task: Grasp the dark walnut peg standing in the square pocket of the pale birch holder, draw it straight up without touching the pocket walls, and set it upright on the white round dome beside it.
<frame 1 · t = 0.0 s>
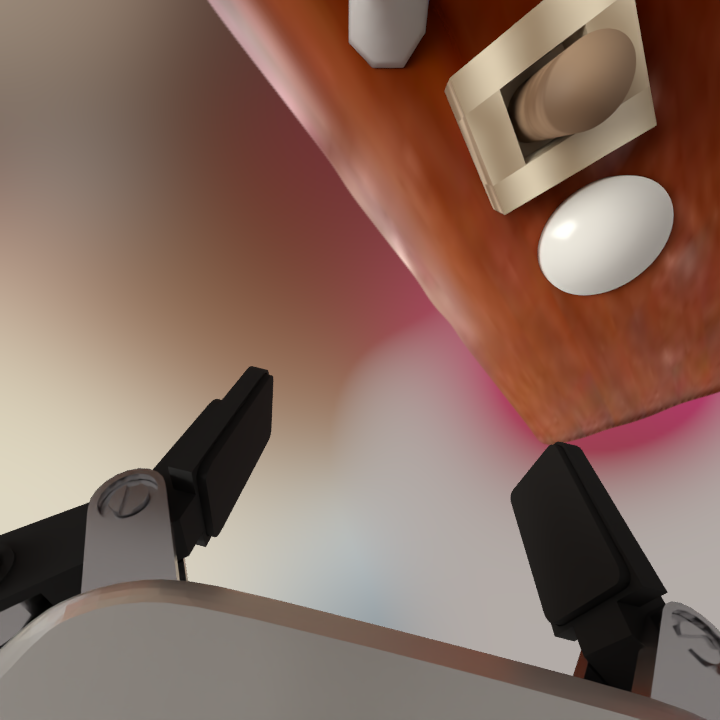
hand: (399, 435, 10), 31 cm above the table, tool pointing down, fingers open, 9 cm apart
flask: (387, 16, 27), on the table
white round dome: (597, 239, 33), on the table
birch holder: (532, 111, 29), on the table
walnut peg: (535, 109, 28), point 1 cm above the table, touching birch holder
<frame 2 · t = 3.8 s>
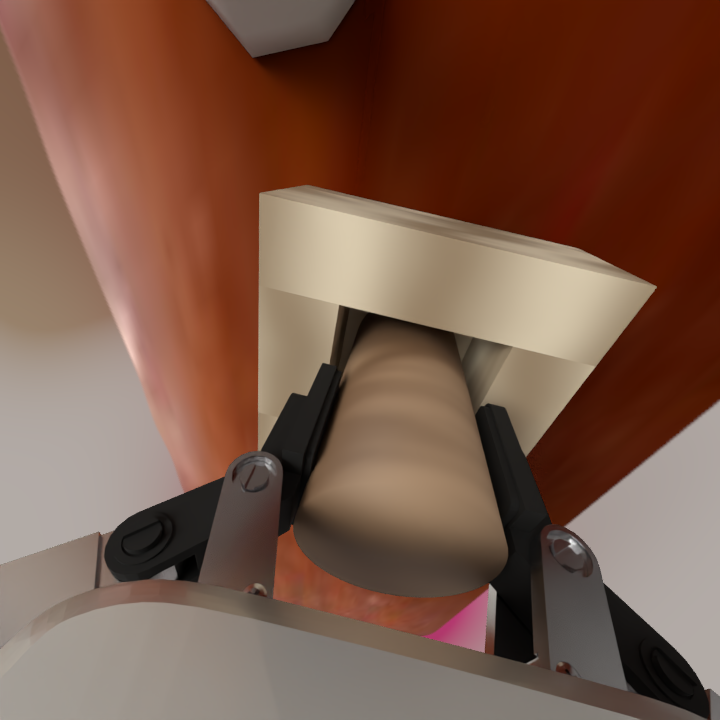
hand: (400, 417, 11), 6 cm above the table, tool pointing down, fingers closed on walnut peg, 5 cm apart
birch holder: (404, 335, 16), on the table
walnut peg: (404, 344, 16), point 1 cm above the table, touching birch holder, gripper
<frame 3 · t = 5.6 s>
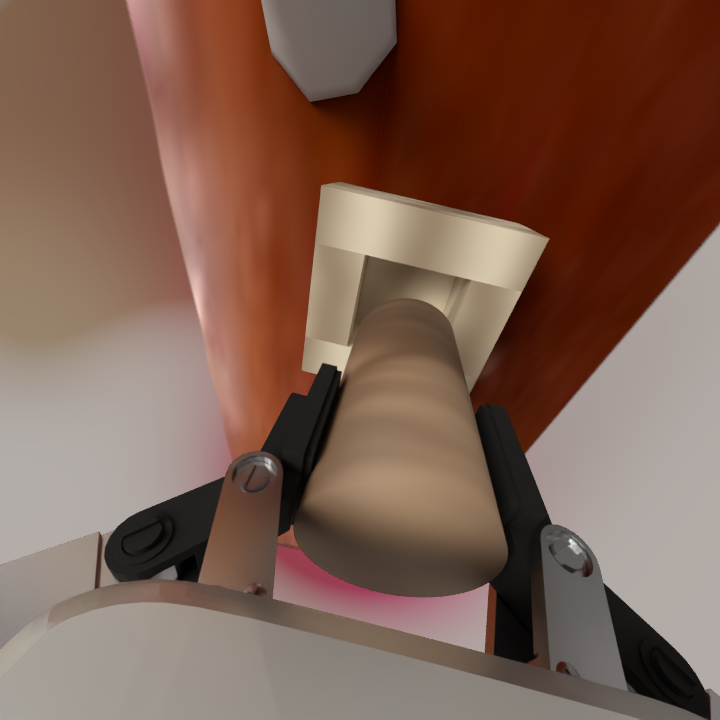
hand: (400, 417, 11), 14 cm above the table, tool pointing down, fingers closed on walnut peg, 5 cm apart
flask: (330, 14, 16), on the table
birch holder: (404, 289, 23), on the table
walnut peg: (404, 344, 16), point 9 cm above the table, touching gripper
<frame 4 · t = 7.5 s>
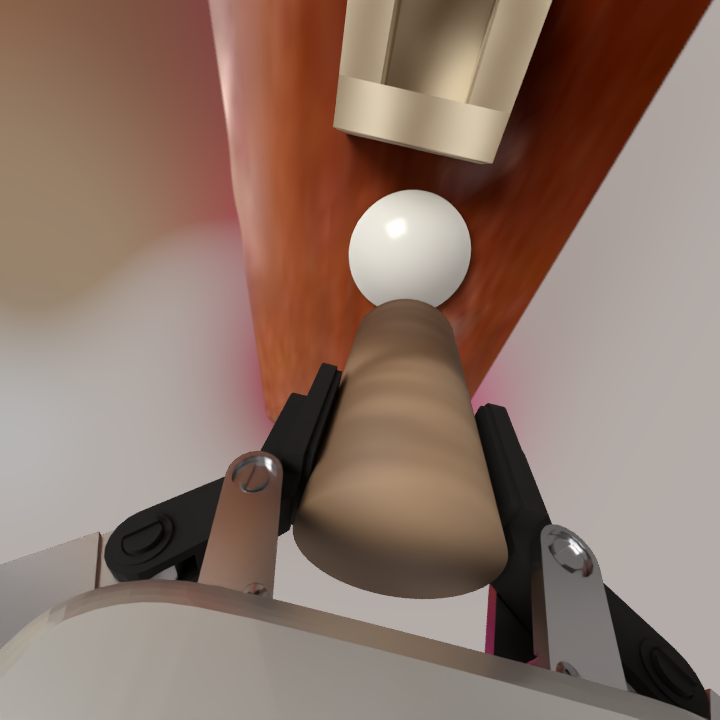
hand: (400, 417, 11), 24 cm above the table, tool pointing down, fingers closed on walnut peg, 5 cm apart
white round dome: (408, 255, 31), on the table
birch holder: (434, 54, 23), on the table
walnut peg: (404, 345, 16), point 19 cm above the table, touching gripper
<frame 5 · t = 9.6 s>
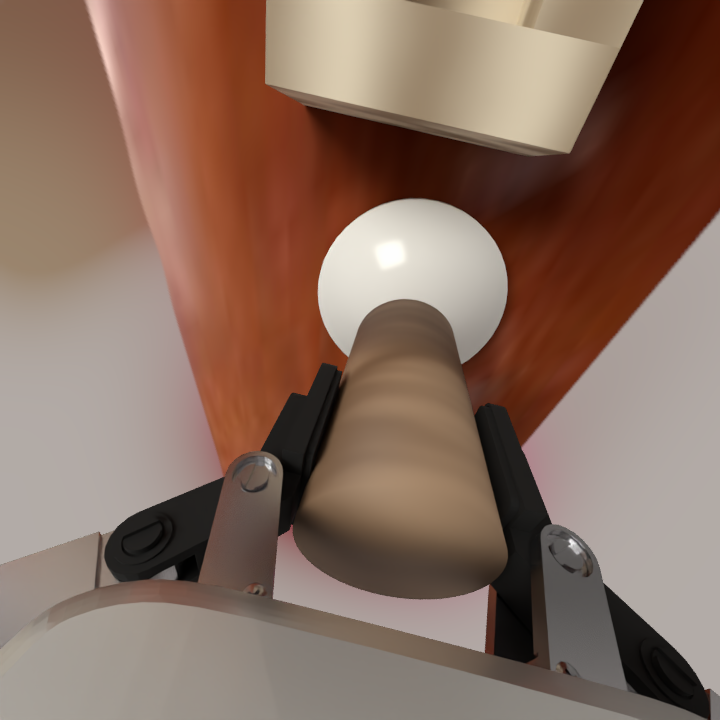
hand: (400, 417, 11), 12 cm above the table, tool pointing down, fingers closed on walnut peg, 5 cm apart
white round dome: (408, 297, 21), on the table
walnut peg: (403, 345, 16), point 6 cm above the table, touching gripper
when the fingers open (8 cm above the table, at t = 11.2 s): walnut peg drops 2 cm, resting on white round dome.
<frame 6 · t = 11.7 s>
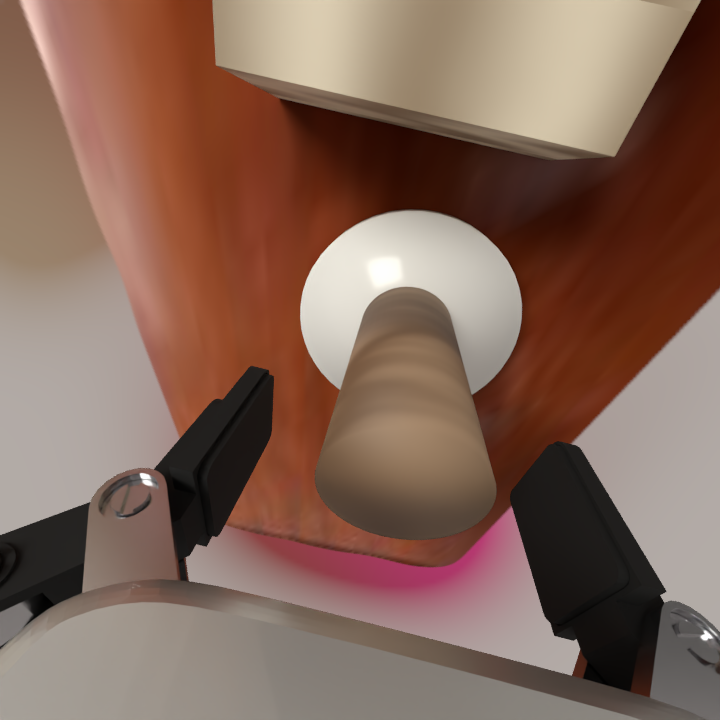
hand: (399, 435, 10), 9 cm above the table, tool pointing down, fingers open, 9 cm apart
white round dome: (405, 321, 18), on the table
walnut peg: (405, 330, 17), point 1 cm above the table, touching white round dome
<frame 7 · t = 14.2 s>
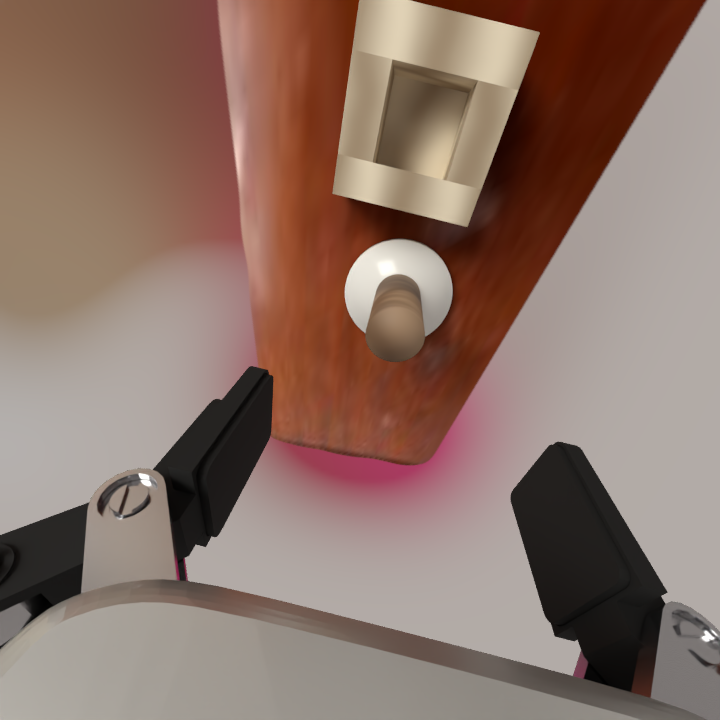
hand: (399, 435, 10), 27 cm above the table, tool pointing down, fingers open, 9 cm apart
white round dome: (397, 293, 35), on the table
birch holder: (419, 132, 27), on the table
walnut peg: (397, 296, 34), point 1 cm above the table, touching white round dome
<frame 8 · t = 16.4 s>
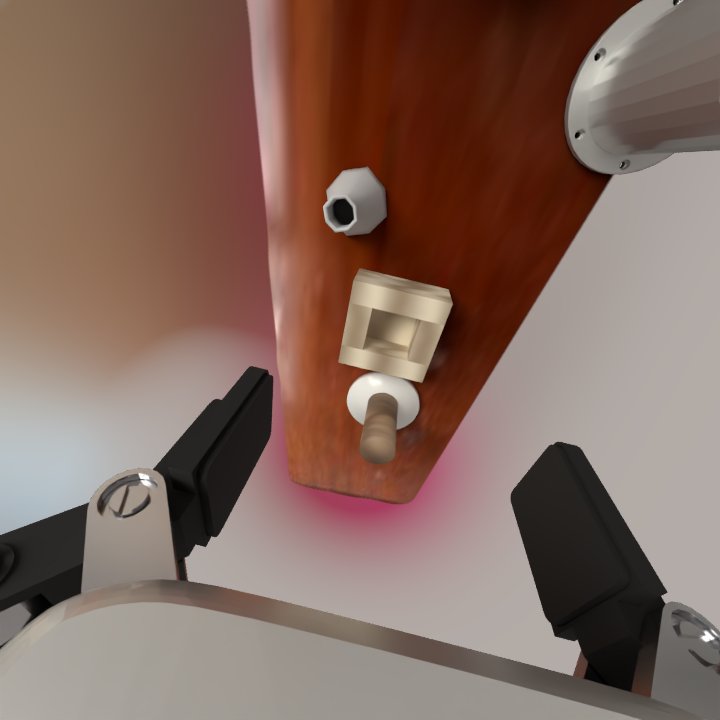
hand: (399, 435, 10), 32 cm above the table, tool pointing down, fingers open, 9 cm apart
flask: (357, 203, 36), on the table
white round dome: (383, 400, 51), on the table
birch holder: (392, 319, 43), on the table
walnut peg: (382, 404, 50), point 1 cm above the table, touching white round dome
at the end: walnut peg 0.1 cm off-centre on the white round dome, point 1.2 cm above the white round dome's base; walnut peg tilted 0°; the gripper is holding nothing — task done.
